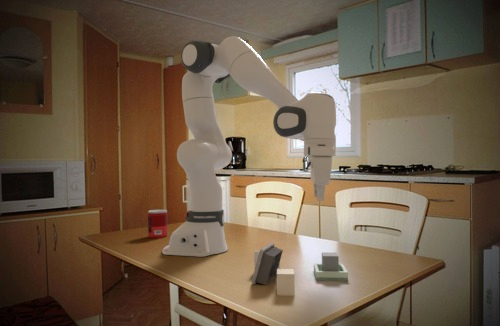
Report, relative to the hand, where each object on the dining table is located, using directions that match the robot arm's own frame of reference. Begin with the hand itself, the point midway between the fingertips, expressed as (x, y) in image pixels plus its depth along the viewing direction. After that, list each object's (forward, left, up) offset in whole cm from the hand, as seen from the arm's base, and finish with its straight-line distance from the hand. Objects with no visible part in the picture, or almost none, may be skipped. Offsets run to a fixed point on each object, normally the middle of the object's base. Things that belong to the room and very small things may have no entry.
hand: (318, 198), depth 105 cm
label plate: (-15, -3, -20) cm, 25 cm away
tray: (+2, -5, -20) cm, 21 cm away
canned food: (-63, +47, -20) cm, 81 cm away
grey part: (+2, -5, -19) cm, 20 cm away
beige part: (-10, -18, -20) cm, 29 cm away
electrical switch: (-14, -10, -21) cm, 27 cm away
